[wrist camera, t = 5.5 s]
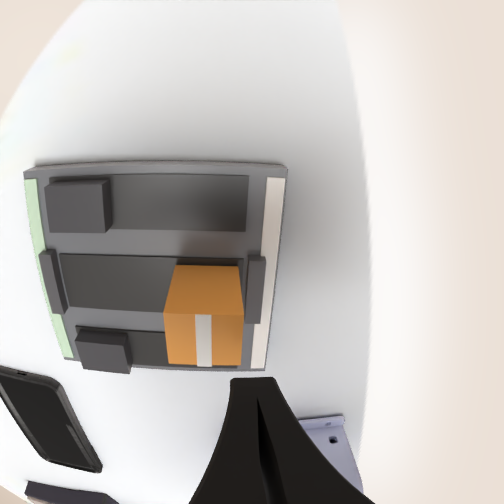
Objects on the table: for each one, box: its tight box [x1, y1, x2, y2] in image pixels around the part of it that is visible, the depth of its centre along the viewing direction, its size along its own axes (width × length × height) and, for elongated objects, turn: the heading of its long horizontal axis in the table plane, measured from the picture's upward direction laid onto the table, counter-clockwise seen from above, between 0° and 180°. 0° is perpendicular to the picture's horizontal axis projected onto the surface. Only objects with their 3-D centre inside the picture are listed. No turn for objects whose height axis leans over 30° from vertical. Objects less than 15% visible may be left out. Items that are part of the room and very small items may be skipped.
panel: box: [23, 161, 288, 374], centre depth 16 cm, size 13×12×2 cm
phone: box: [0, 366, 103, 473], centre depth 22 cm, size 8×1×15 cm
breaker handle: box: [163, 265, 244, 367], centre depth 14 cm, size 3×3×4 cm
